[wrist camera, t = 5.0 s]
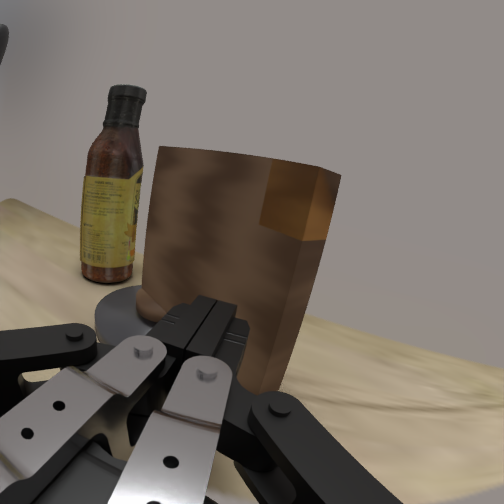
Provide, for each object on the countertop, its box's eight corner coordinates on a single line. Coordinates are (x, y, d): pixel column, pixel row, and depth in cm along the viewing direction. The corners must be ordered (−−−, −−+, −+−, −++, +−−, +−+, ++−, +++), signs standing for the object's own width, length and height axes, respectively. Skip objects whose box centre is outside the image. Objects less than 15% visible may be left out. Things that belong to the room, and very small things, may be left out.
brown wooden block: (127, 299, 21) (143, 143, 18) (172, 292, 24) (193, 151, 21) (239, 413, 13) (302, 161, 10) (290, 381, 16) (351, 179, 13)
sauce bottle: (142, 282, 29) (172, 89, 24) (88, 289, 24) (114, 75, 19) (120, 260, 33) (144, 97, 28) (73, 264, 28) (95, 88, 23)
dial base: (68, 335, 17) (66, 319, 17) (137, 286, 28) (137, 273, 27) (207, 392, 16) (209, 377, 16) (240, 316, 27) (243, 303, 26)
